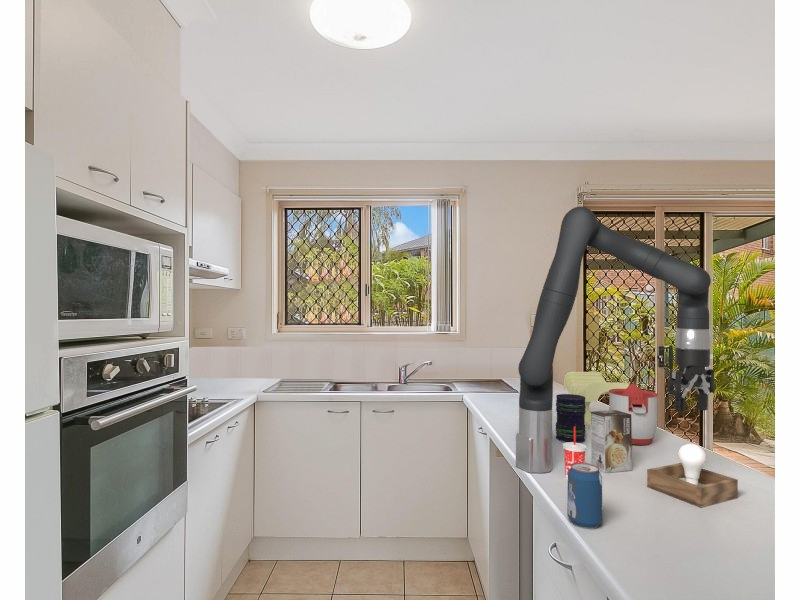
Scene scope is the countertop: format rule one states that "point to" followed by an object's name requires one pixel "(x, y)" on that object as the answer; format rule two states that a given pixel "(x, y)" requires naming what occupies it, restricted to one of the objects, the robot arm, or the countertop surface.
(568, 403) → the storage jar
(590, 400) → the hair dryer
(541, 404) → the robot arm
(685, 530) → the countertop surface
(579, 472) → the soda can
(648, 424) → the citrus juicer
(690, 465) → the lightbulb
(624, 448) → the coffee box
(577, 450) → the beverage cup
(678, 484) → the parts box
